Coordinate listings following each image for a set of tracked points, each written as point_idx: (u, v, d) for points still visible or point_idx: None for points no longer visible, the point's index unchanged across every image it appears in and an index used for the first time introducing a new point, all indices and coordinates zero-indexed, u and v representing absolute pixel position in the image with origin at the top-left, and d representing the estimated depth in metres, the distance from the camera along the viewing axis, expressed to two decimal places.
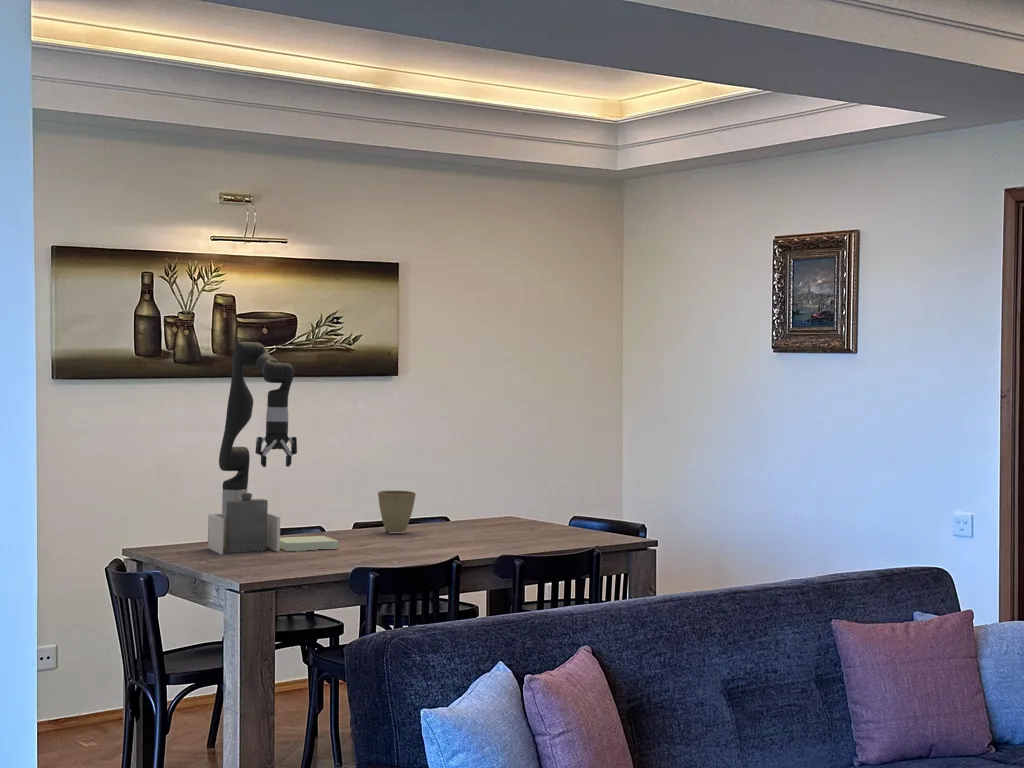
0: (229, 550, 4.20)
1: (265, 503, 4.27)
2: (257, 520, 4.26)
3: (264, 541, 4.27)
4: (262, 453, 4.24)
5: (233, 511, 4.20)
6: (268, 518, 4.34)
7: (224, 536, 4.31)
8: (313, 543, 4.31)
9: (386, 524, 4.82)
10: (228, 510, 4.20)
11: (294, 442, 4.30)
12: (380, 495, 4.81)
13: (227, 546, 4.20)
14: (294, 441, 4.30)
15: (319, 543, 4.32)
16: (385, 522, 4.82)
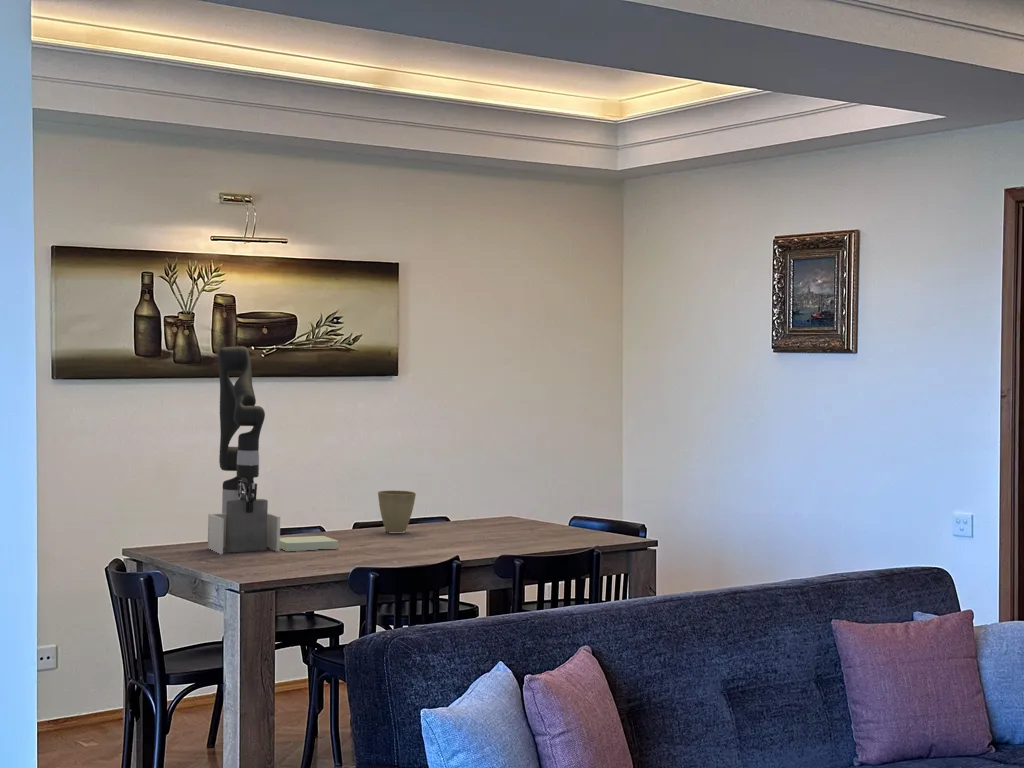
0: (229, 550, 4.20)
1: (265, 503, 4.27)
2: (257, 520, 4.26)
3: (264, 541, 4.27)
4: None
5: (233, 510, 4.20)
6: (268, 518, 4.34)
7: (224, 536, 4.31)
8: (313, 543, 4.31)
9: (386, 524, 4.82)
10: (228, 510, 4.20)
11: None
12: (380, 495, 4.81)
13: (227, 546, 4.20)
14: None
15: (319, 543, 4.32)
16: (385, 522, 4.82)
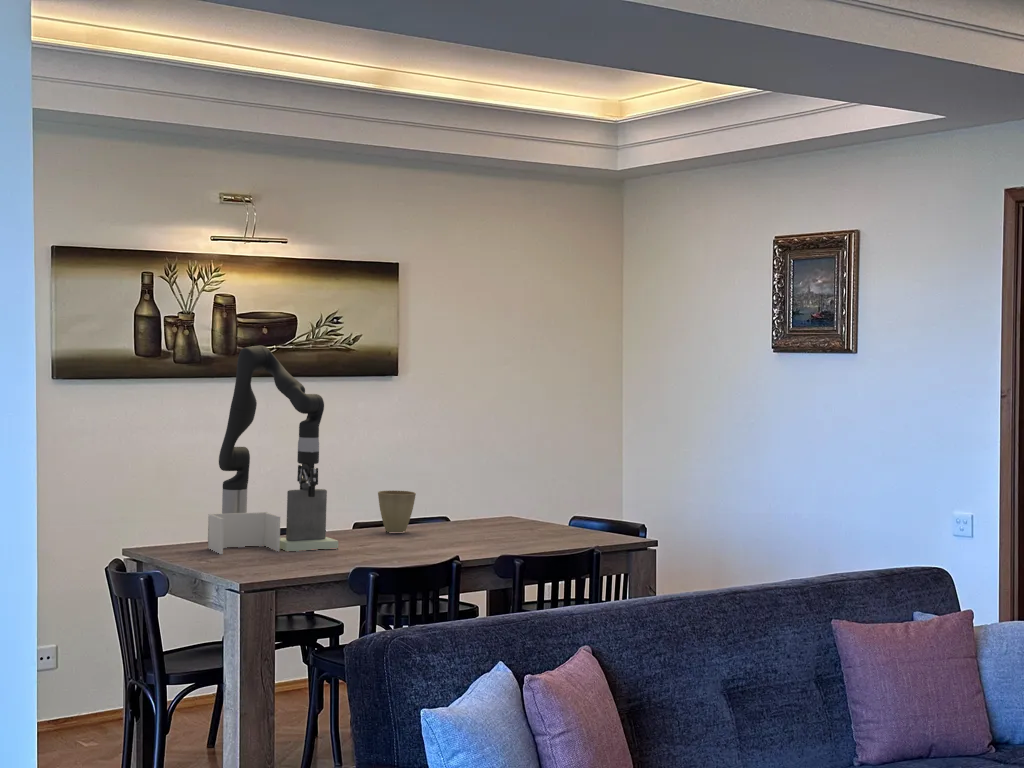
0: (290, 538, 4.31)
1: (324, 493, 4.38)
2: (317, 509, 4.37)
3: (323, 530, 4.39)
4: None
5: (294, 500, 4.31)
6: (268, 518, 4.34)
7: (224, 536, 4.31)
8: (313, 543, 4.31)
9: (386, 524, 4.82)
10: (289, 499, 4.32)
11: None
12: (380, 495, 4.81)
13: (288, 534, 4.32)
14: None
15: (319, 543, 4.32)
16: (385, 522, 4.82)
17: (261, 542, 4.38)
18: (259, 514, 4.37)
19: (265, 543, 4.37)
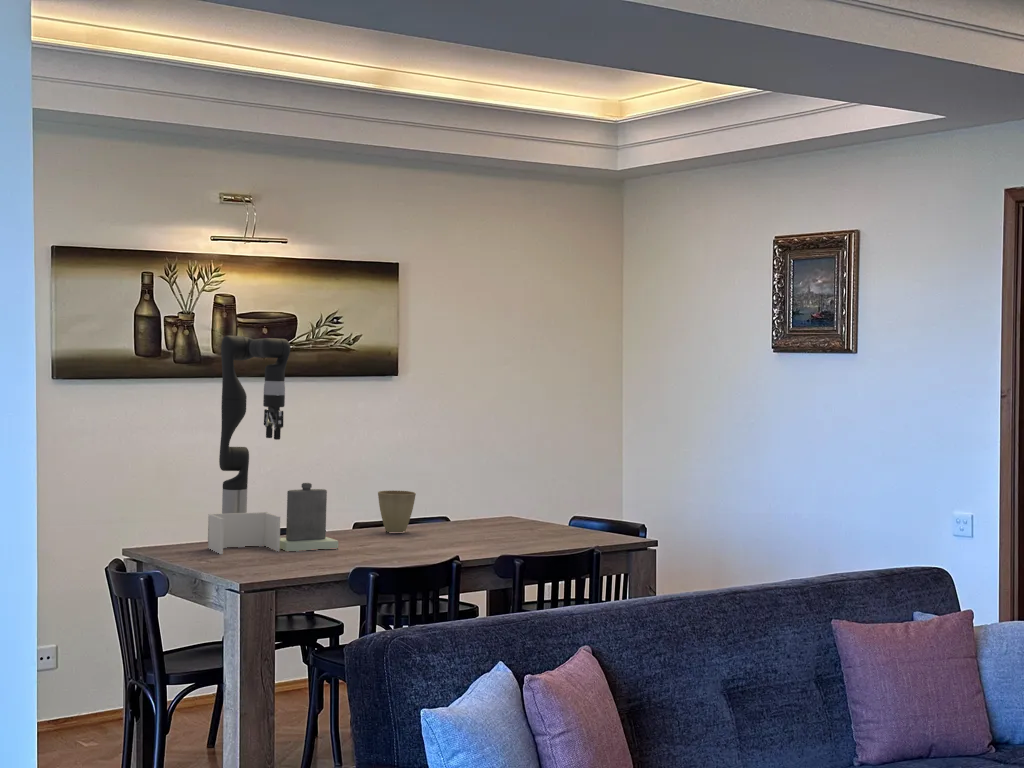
0: (290, 538, 4.31)
1: (324, 493, 4.38)
2: (317, 509, 4.37)
3: (323, 530, 4.39)
4: (280, 426, 4.38)
5: (294, 500, 4.31)
6: (268, 518, 4.34)
7: (224, 536, 4.31)
8: (313, 543, 4.31)
9: (386, 524, 4.82)
10: (289, 499, 4.32)
11: None
12: (380, 495, 4.81)
13: (288, 534, 4.32)
14: None
15: (319, 543, 4.32)
16: (385, 522, 4.82)
17: (261, 542, 4.38)
18: (259, 514, 4.37)
19: (265, 543, 4.37)
